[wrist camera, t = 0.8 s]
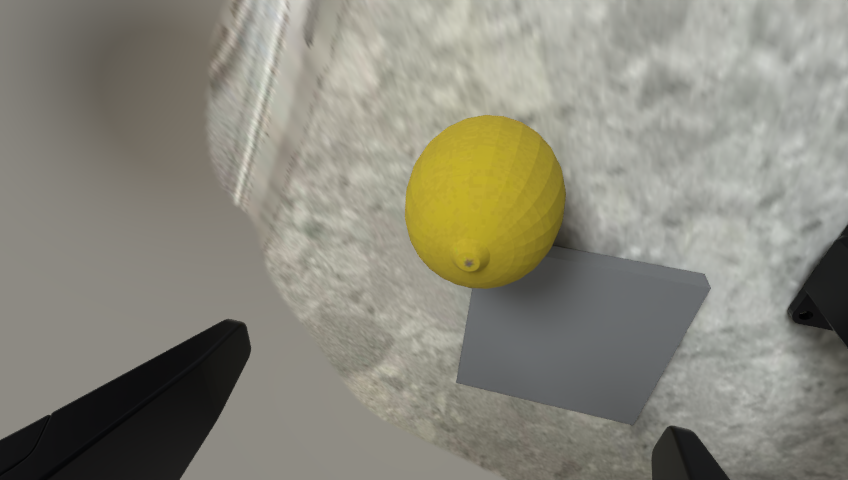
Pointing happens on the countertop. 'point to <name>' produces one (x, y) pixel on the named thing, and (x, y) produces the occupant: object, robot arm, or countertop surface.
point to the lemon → (485, 202)
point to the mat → (580, 332)
